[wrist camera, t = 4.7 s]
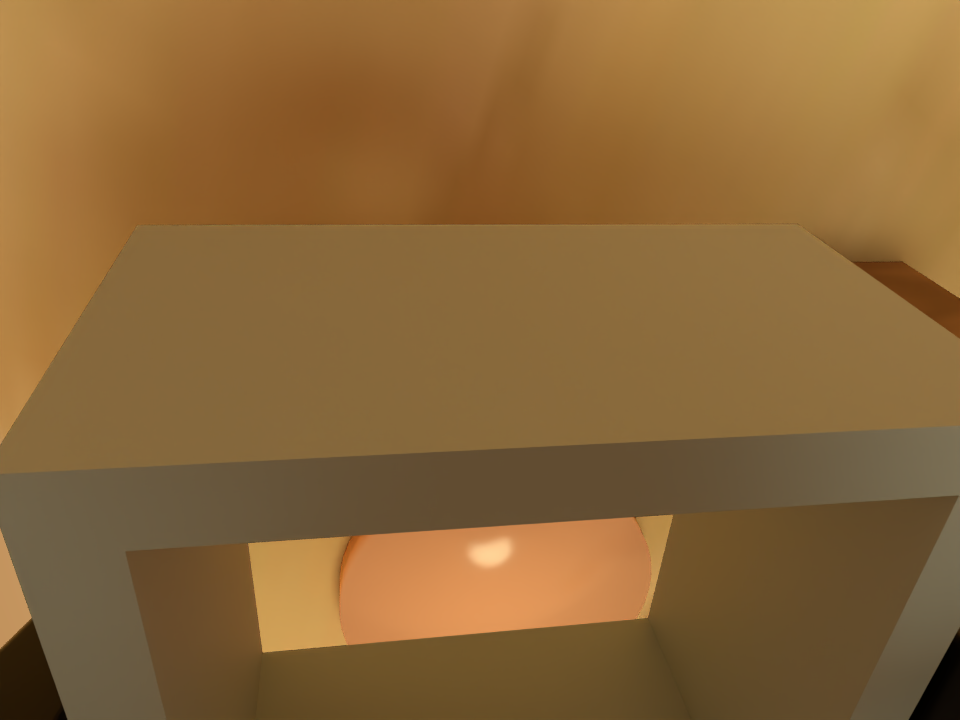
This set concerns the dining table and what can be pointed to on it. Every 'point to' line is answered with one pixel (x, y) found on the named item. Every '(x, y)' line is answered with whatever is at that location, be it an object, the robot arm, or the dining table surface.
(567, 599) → the dish
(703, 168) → the dining table surface
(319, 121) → the dining table surface
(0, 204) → the dining table surface
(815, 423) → the collar
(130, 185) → the dining table surface
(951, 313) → the block
